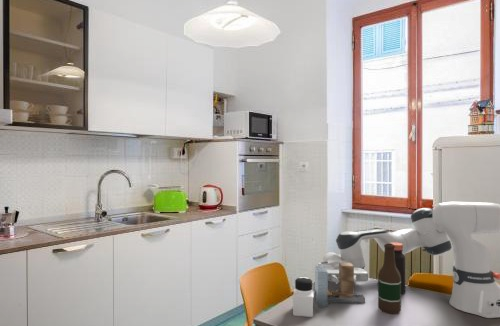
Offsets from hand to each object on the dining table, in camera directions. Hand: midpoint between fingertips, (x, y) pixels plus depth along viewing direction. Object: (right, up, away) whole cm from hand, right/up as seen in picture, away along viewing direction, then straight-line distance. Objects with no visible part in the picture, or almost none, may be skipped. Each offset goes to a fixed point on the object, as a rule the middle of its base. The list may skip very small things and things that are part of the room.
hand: (346, 281), depth 130 cm
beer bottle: (+14, -8, -7) cm, 17 cm away
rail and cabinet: (-2, -8, -1) cm, 8 cm away
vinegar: (+24, -8, +10) cm, 27 cm away
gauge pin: (-9, -5, +1) cm, 10 cm away
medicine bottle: (-18, -8, -9) cm, 22 cm away
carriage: (-2, -5, 0) cm, 6 cm away
